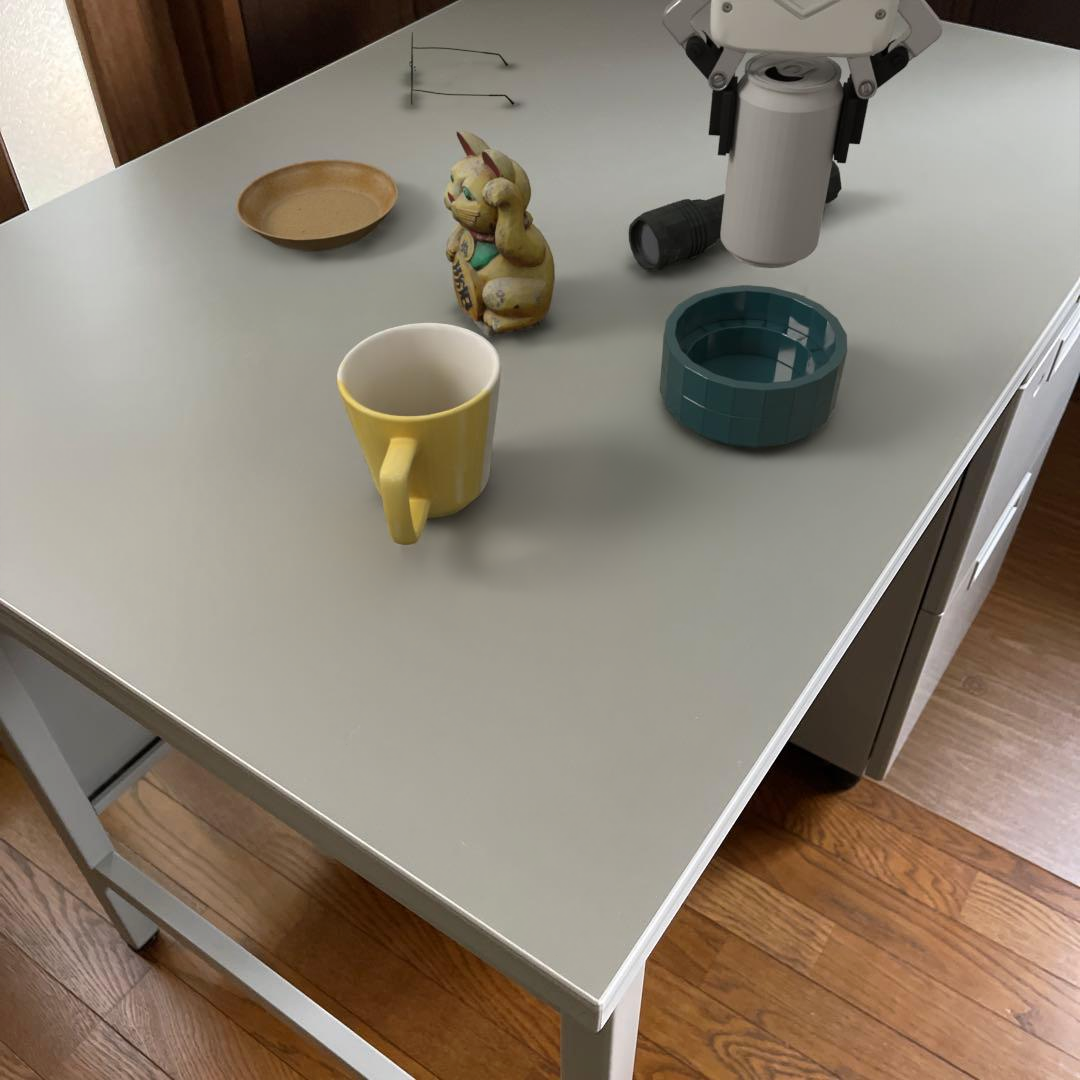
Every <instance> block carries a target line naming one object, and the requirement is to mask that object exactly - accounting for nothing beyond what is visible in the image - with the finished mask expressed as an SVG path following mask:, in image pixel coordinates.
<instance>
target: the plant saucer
mask: <svg viewBox="0 0 1080 1080" xmlns="http://www.w3.org/2000/svg"><path fill="white" fill-rule="evenodd" d="M398 198H399V188H398V184H397V182H396V180H395V179H394V178H393V176H391V175H390V174H389V173H387V172H386V171H384V170H382V169H381V168H379V167H377V166H375V165H372V164H368V163H365V162H362V161H356V160H349V159H348V160H347V159H338V158H337V159H334V158H333V159H315V160H306V161H301V162H296V163H292V164H287V165H284V166H281V167H278V168H275V169H273V170H270V171H267V172H266V173H264V174H262V175H259V176H258V177H257V178H254V180H252V181H251V182H250V183H248V184H247V185H246V186H245V187H244V188H243V189H242V190H241V192H240V193H239V195H238V197H237V199H236V202H235V212H236V214H237V217H238V218H239V220H240V221H241V222H242V224H244V225H245V227H247V228H248V229H250V230H251V231H252V232H253V233H255V234H257V235H258V236H259V237H260V238H263V239H265V240H266V241H268V242H271V243H273V244H275V245H277V246H280V247H283V248H284V249H285V248H286V249H289V250H294V251H301V252H321V251H331V250H334V249H338V248H342V247H346V246H350V245H352V244H355V243H357V242H359V241H361V240H362V239H364V238H366V237H367V236H368V235H370V234H371V233H372V232H374V231H375V230H376V229H377V228H379V226H380V225H381V224H382V223H383V222H384V220H385V219H386V218H387V217H388V216H389V214H390V213H391V211H392V210H393V208H394V207H395V205H396V203H397V201H398Z"/></svg>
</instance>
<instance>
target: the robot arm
mask: <svg viewBox="0 0 1080 1080" xmlns="http://www.w3.org/2000/svg"><path fill="white" fill-rule="evenodd" d="M709 4H710V13H709V14H710V19H709V27H710V35H711V37H710V36H709V34H707V32H706V31H705V30H703V29H702V28H701V27H700V26H699V24H698V22H697V21H696V20H695V18H694V17H695V16H696V15H697V14H698V13H699V12H701V11H702V10H703V9H704V8H705V7H707V6H708V5H709ZM897 14H898V15H900V17H902V19H903V20H904V21H905V22H906V24H907V25H908V26H907V28H906V30H905V31H903V32H902V33H901V35H900V36H899V37H897V38H895V39H893V40H891V39H892V36H893V32H894V29H895V25H896V19H897ZM940 19H941V18H940V17H939V16H938V15H937V14H936V13H935V11H934V10H933V8H932V7H931V6H930V5H929V4H928V2H927V1H926V0H671V1H670V2H669V3H668V4H667V5H666V7H664V11H663V14H662V18H661V22H662V25H663V27H664V28H665V29H666V30H667V32H668V33H669V34H670V36H671V37H672V38H673V39H674V40H675V42H676V43H677V44H678V45H679V46H681V48H682V49H683V50H684V52H685V55H686V57H687V58H688V59H689V60H690V62H692V64H693V65H694V66H695V67H696V68H697V70H698V71H699V72H700V73H701V74H702V75H703V77H704V78H705V79H706V81H707V83H708V86H709V87H710V89H711V90H712V93H711V103H710V113H709V114H710V115H709V125H708V136H715V137H716V136H718V137H719V138H718V148H717V156H723V157H726V156H727V154H728V155H729V152H730V144H731V135H732V126H733V117H734V108H735V98H736V89H737V83H738V82H739V76H737V75H736V71H737V70H738V68H739V67H740V65H741V63H742V61H743V59H744V57H745V56H746V54H747V53H748V54H780V55H799V56H819V57H828V58H843V59H844V58H846V62H847V65H848V68H849V72H850V73H849V76H848V77H847V80H846V81H843V84H842V86H843V89H844V99H843V105H842V110H841V116H840V121H839V127H838V133H837V138H836V144H835V150H834V155H833V161H836V164H847V160H848V155H849V154H848V153H849V148H850V145H860V144H861V141H862V136H863V131H864V125H865V121H866V115H867V110H868V105H869V100H870V99H871V98H872V97H874V96H875V95H876V93H877V91H878V89H879V88H881V87H882V86H883V85H885V84H886V83H887V82H888V81H890V80H891V79H892V78H893V77H895V76H896V75H897V74H899V73H900V72H902V71H903V70H904V69H905V68H906V67H907V66H908V64H909V63H910V62H911V61H912V60H913V59H914V58H917V57H918V56H919V55H921V54H922V53H923V52H924V51H925V50H927V49H928V48H929V47H930V46H931V45H933V44H934V43H935V42H936V41H938V40H939V39H940V38H941V36H942V34H943V26H942V21H941V20H940Z"/></svg>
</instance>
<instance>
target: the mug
mask: <svg viewBox="0 0 1080 1080" xmlns="http://www.w3.org/2000/svg"><path fill="white" fill-rule="evenodd" d="M501 377H502V361H501V357H500V355H499V352H498V351H497V349H496V348H495V346H494V345H493V344H492V343H491V342H490V341H489V340H487V339H486V338H485V337H484V336H482V335H481V334H480V333H479V334H478V333H477V332H475V331H472V330H471V329H467V328H465V327H462V326H458V325H454V324H448V323H440V322H439V323H438V322H419V323H418V322H417V323H408V324H403V325H398V326H394V327H391V328H386V329H384V330H381V331H379V332H376V333H373V334H372V335H370V336H368V337H366V338H365V339H363V340H361V341H359V343H357V344H356V345H355V346H354V347H353V348H351V349H350V350H349V351H348V352H347V353H346V355H345V356H344V358H343V359H342V361H341V363H340V365H339V366H338V369H337V374H336V383H337V389H338V391H339V394H340V397H341V401H342V403H343V406H344V408H345V411H346V414H347V416H348V418H349V421H350V424H351V426H352V429H353V432H354V433H355V436H356V438H357V442H358V443H359V447H360V449H361V451H362V454H363V457H364V459H365V462H366V464H367V467H368V469H369V472H370V475H371V479H372V481H373V485H374V486H375V488H376V490H377V492H378V494H379V495H380V497H381V499H382V505H383V510H384V515H385V519H386V524H387V528H388V532H389V536H390V537H391V540H392V541H393V542H394V543H395V544H397V545H402V546H410V545H415V544H417V542H419V540H420V538H421V536H422V534H423V530H424V527H425V525H426V523H427V519H435V518H442V517H446V516H450V515H453V514H456V513H457V512H459V511H461V510H462V509H464V508H465V507H466V506H468V505H469V504H470V503H471V502H473V501H474V500H476V498H478V496H480V495H481V493H482V492H483V491H484V489H485V487H486V486H487V484H488V481H489V478H490V474H491V473H490V472H491V463H492V462H491V461H492V453H493V445H494V436H495V429H496V428H495V426H496V419H497V411H498V404H499V395H500V387H501Z"/></svg>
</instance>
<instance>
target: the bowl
mask: <svg viewBox="0 0 1080 1080" xmlns="http://www.w3.org/2000/svg"><path fill="white" fill-rule="evenodd" d="M662 338H663V339H662V353H661V365H660V381H659V393H660V396H661V399H662V401H663V404H664V407H665V408H666V409H667V411H669V413H670V414H671V415H672V416H673V417H674V418H675V420H677V421H678V423H680V424H681V425H683V426H684V427H686V428H688V429H690V430H691V431H693V432H695V433H696V434H698V435H699V436H701V437H704V438H706V439H708V440H710V441H713V442H716V443H719V444H722V445H725V446H726V445H727V446H731V447H737V448H748V449H757V448H758V449H762V448H771V447H777V446H780V445H786V444H789V443H791V442H795V441H797V440H800V439H804V438H806V437H808V436H811V435H812V434H814V433H815V432H816V431H818V430H819V429H820V428H821V427H822V426H824V425H825V424H826V423H827V422H828V421H829V419H830V417H831V415H832V414H833V412H834V409H836V404H837V401H838V396H839V390H840V387H841V386H840V385H841V382H842V377H843V372H844V369H845V364H846V359H847V354H848V334H847V333H846V331H845V328H844V327H843V325H842V324H841V322H840V320H839V318H838V317H837V316H835V315H834V314H833V313H832V312H830V311H829V310H828V309H827V308H826V307H824V305H822V304H820V303H818V302H817V301H814V300H812V299H810V298H808V297H806V296H803V295H801V294H800V293H799V294H798V293H796V292H793V291H788V290H785V289H781V288H777V287H773V286H763V285H751V284H749V285H748V284H745V285H742V284H741V285H733V286H732V285H731V286H720V287H716V288H713V289H709V290H706V291H702V292H699V293H696V294H694V295H692V296H690V297H689V298H687V299H685V300H684V301H682V302H680V303H679V304H677V305H676V306H675V308H673V310H672V311H671V312H670V314H669V315H668V317H666V319H665V325H664V331H663V337H662Z"/></svg>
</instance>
